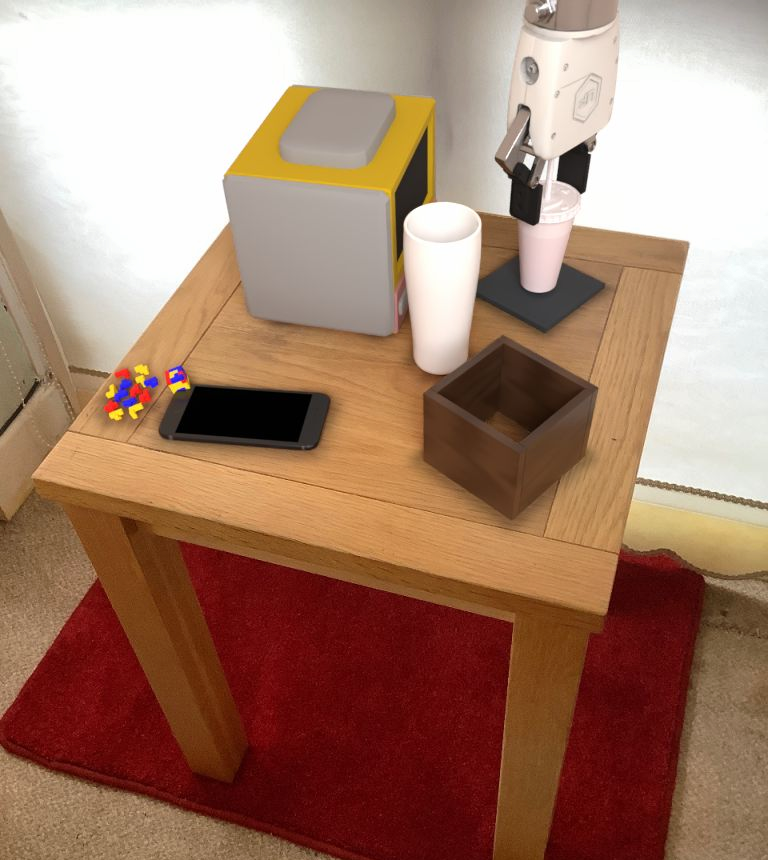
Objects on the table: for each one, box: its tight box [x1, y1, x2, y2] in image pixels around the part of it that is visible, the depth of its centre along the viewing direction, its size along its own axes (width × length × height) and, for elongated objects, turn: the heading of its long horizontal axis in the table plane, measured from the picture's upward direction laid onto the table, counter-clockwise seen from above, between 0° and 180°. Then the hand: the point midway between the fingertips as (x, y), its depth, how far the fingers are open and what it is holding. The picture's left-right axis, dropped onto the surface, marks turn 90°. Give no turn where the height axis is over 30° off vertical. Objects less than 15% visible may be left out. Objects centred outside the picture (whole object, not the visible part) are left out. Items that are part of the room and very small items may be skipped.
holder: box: [422, 334, 599, 521], centre depth 73 cm, size 10×10×8 cm
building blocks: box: [103, 364, 191, 421], centre depth 83 cm, size 6×8×2 cm
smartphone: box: [157, 383, 332, 452], centre depth 80 cm, size 7×15×1 cm, turn 82°
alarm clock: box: [221, 84, 438, 338], centre depth 86 cm, size 20×16×18 cm
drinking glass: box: [403, 201, 483, 376], centre depth 79 cm, size 7×7×15 cm
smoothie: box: [516, 159, 582, 293], centre depth 85 cm, size 6×6×14 cm
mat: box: [476, 254, 606, 333], centre depth 91 cm, size 10×10×1 cm
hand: (547, 202), depth 83 cm, fingers closed on smoothie, 6 cm apart
